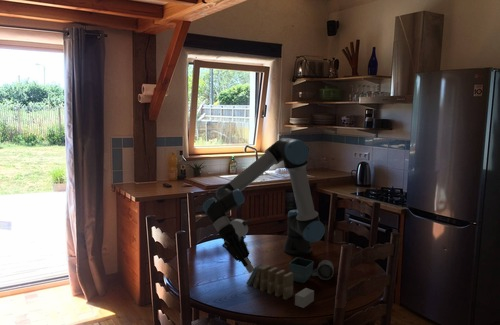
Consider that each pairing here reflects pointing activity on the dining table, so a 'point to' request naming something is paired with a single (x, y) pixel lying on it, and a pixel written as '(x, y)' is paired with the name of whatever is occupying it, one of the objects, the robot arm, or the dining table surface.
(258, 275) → the domino
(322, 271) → the ceramic mug
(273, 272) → the domino
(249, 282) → the domino
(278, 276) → the domino
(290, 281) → the domino
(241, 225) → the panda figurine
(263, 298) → the dining table surface
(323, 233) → the robot arm
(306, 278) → the flower pot
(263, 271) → the domino
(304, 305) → the end block
